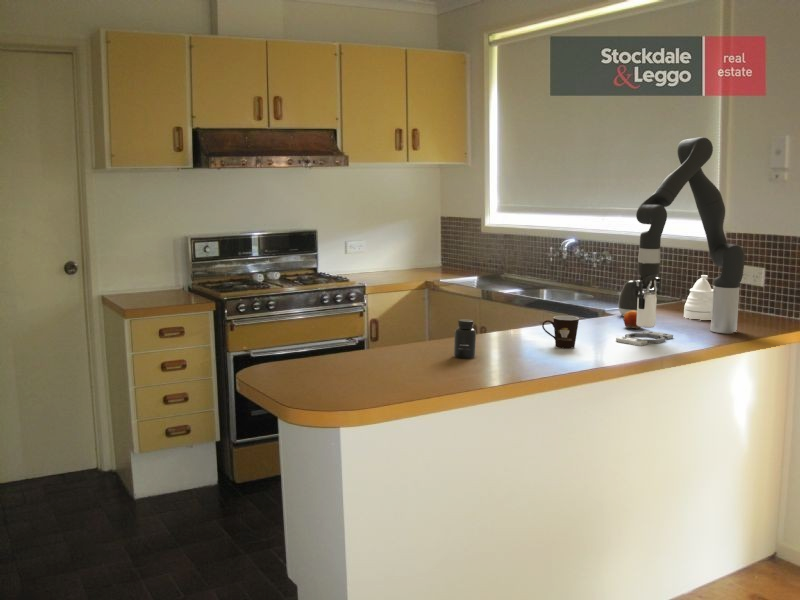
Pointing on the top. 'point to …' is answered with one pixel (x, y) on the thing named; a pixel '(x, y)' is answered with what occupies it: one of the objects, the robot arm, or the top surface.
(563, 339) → the coffee mug
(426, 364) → the top surface
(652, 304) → the can
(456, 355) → the supplement bottle
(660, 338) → the octagonal ring bracket
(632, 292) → the pump dispenser
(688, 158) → the robot arm
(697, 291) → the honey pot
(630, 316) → the fruit
